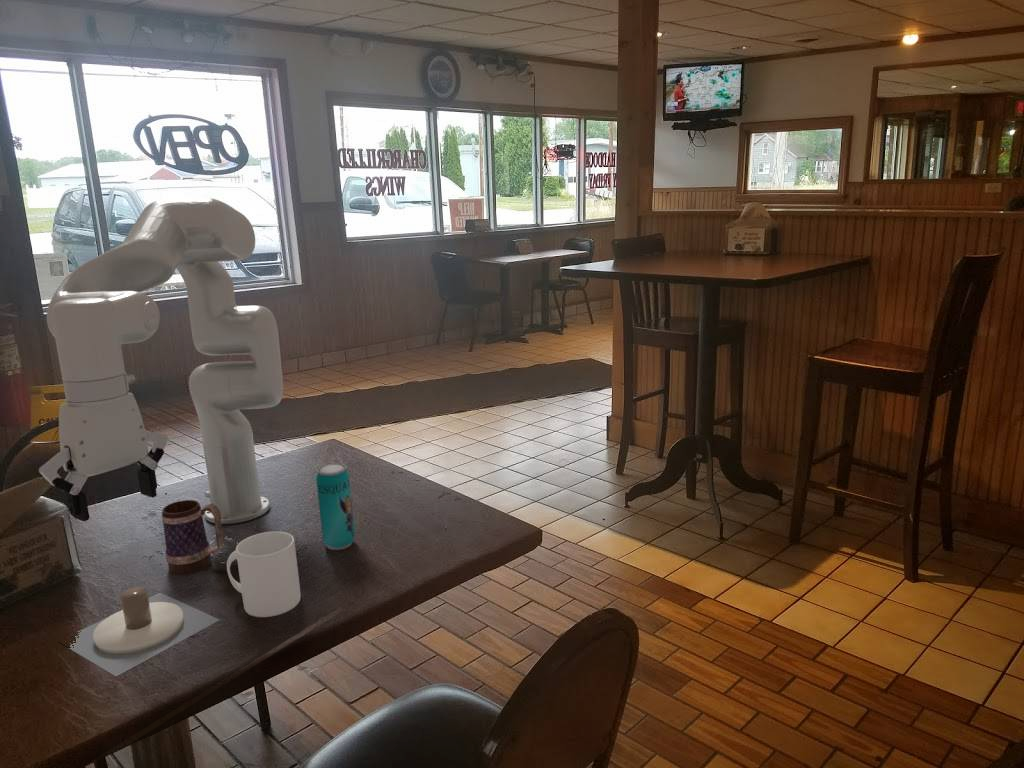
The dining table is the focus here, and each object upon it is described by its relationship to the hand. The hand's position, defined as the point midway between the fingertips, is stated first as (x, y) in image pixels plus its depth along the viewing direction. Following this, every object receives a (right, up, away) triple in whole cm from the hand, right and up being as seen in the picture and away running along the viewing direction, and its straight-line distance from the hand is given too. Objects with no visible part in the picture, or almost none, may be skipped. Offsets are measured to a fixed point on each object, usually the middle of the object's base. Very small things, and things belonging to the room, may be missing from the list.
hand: (116, 506), depth 105 cm
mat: (+1, -20, +5) cm, 21 cm away
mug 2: (+17, -18, +12) cm, 27 cm away
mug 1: (+1, -15, +25) cm, 29 cm away
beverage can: (+24, -12, +32) cm, 42 cm away
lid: (+1, -19, +5) cm, 20 cm away
